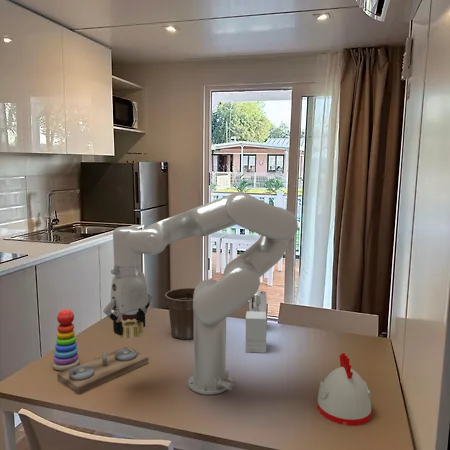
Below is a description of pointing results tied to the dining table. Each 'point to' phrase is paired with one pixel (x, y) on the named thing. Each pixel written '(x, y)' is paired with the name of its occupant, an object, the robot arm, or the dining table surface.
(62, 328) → the stacking toy
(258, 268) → the robot arm
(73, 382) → the gear board
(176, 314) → the plant pot
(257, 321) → the supplement box
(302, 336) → the dining table surface
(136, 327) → the brass gear
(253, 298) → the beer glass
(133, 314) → the mate gourd
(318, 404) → the kitchen timer
